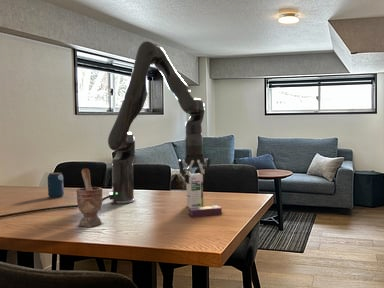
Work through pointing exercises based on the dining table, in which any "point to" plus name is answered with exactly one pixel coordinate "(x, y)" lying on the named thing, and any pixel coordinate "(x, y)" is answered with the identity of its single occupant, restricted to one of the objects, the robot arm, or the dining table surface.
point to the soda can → (55, 185)
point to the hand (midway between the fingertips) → (194, 182)
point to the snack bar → (205, 211)
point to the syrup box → (195, 190)
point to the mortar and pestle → (89, 201)
